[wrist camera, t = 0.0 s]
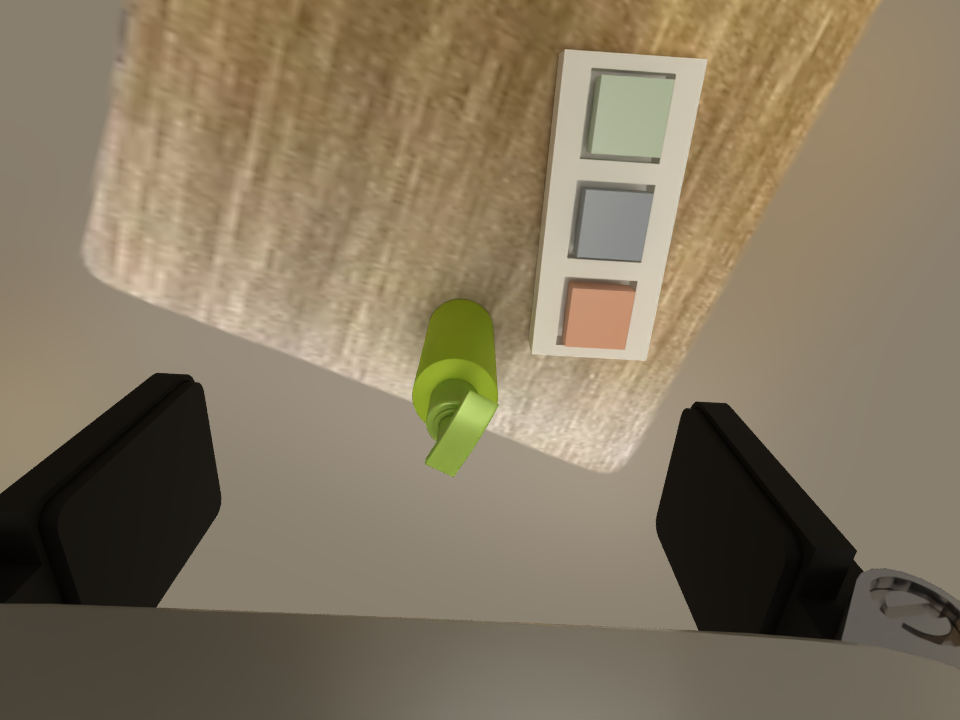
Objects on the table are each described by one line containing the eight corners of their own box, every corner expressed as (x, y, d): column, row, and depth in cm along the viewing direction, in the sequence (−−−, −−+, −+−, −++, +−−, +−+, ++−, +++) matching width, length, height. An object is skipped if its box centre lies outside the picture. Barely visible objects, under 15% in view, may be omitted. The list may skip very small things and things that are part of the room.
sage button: (596, 76, 38) (602, 74, 36) (665, 81, 38) (675, 79, 37) (586, 151, 40) (591, 153, 39) (652, 156, 40) (660, 157, 39)
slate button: (581, 186, 41) (586, 189, 40) (646, 190, 41) (653, 193, 40) (573, 251, 43) (577, 257, 42) (634, 255, 44) (641, 260, 42)
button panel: (559, 54, 40) (564, 49, 37) (692, 63, 40) (707, 59, 37) (528, 341, 49) (531, 354, 47) (636, 347, 50) (645, 360, 47)
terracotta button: (569, 281, 44) (572, 288, 43) (629, 284, 45) (635, 291, 43) (561, 337, 46) (564, 346, 45) (619, 340, 47) (624, 349, 45)
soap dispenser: (511, 308, 48) (531, 424, 30) (473, 369, 50) (470, 511, 32) (453, 277, 47) (436, 377, 29) (417, 341, 49) (381, 471, 31)
